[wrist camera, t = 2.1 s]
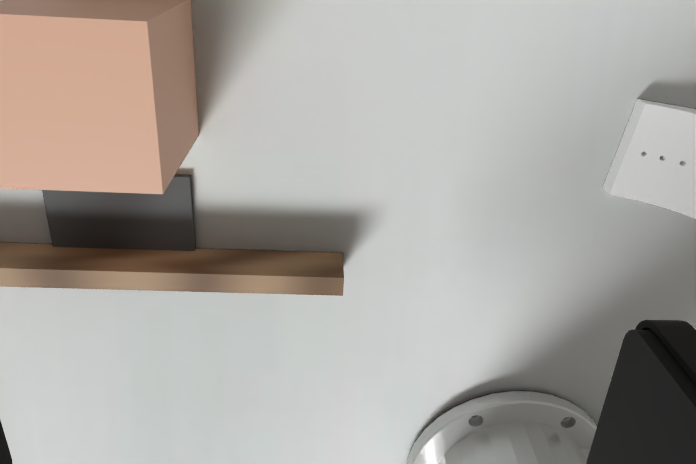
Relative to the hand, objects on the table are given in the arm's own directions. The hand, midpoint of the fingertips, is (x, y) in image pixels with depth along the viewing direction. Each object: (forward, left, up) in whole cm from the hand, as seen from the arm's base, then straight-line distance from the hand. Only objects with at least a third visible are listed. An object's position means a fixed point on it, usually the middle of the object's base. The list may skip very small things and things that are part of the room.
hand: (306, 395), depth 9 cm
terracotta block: (+9, 0, -21) cm, 22 cm away
